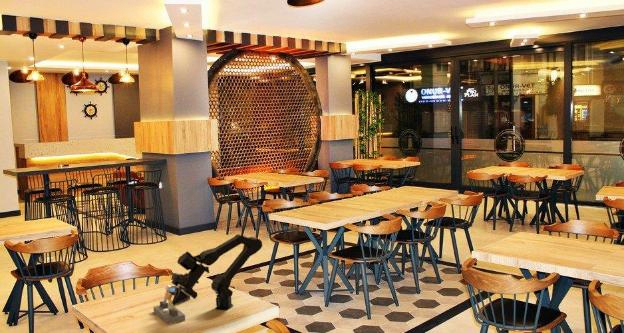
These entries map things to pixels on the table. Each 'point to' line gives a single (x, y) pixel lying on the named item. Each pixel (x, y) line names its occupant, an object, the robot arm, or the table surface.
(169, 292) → the camera
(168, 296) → the brass lever
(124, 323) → the table surface
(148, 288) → the table surface
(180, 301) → the flask
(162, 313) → the switch panel
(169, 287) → the steel lever
